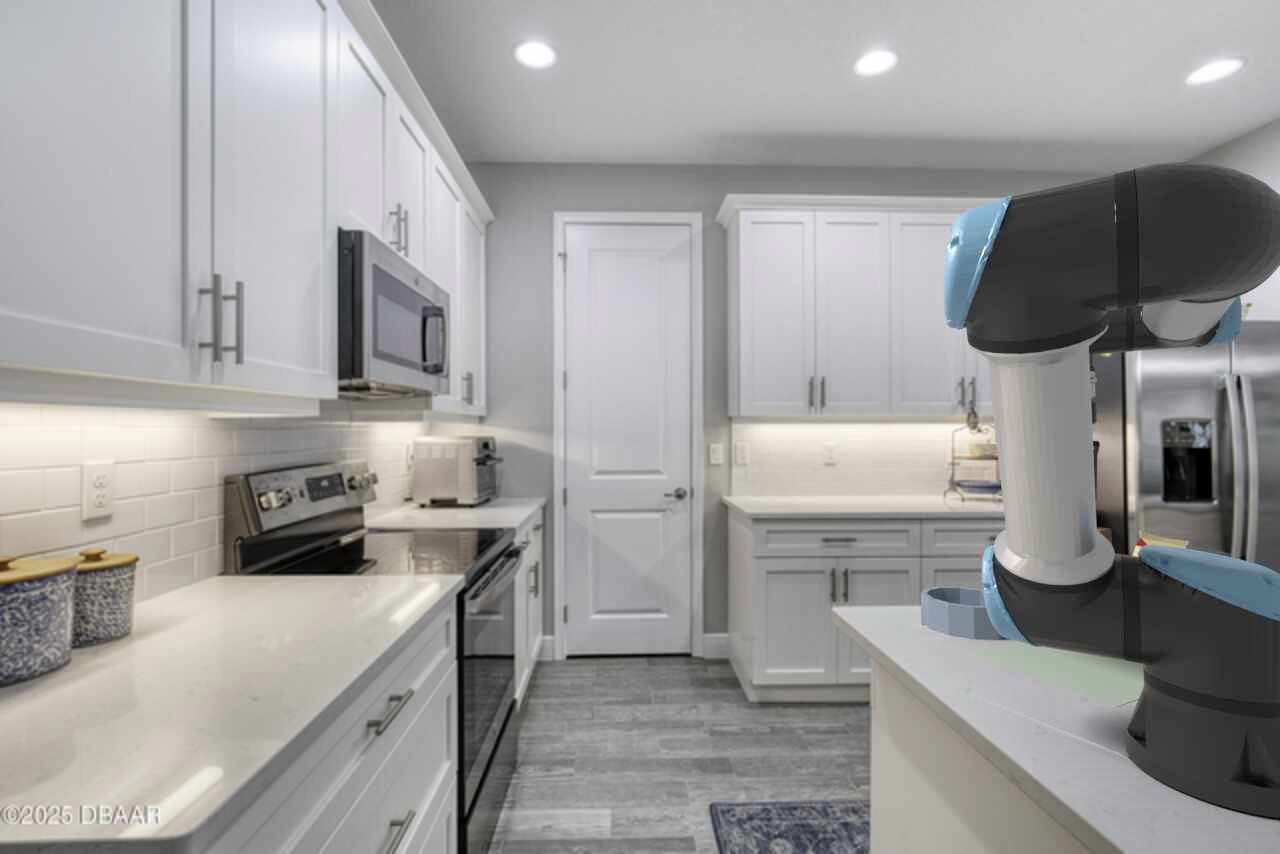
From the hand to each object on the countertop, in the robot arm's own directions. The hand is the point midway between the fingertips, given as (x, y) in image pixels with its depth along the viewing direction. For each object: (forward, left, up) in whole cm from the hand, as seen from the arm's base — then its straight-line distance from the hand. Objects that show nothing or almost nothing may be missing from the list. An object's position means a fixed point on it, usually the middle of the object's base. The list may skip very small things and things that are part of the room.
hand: (1070, 547), depth 92 cm
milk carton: (+21, -2, -19) cm, 28 cm away
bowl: (+2, +20, -19) cm, 27 cm away
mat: (0, 0, -19) cm, 19 cm away
